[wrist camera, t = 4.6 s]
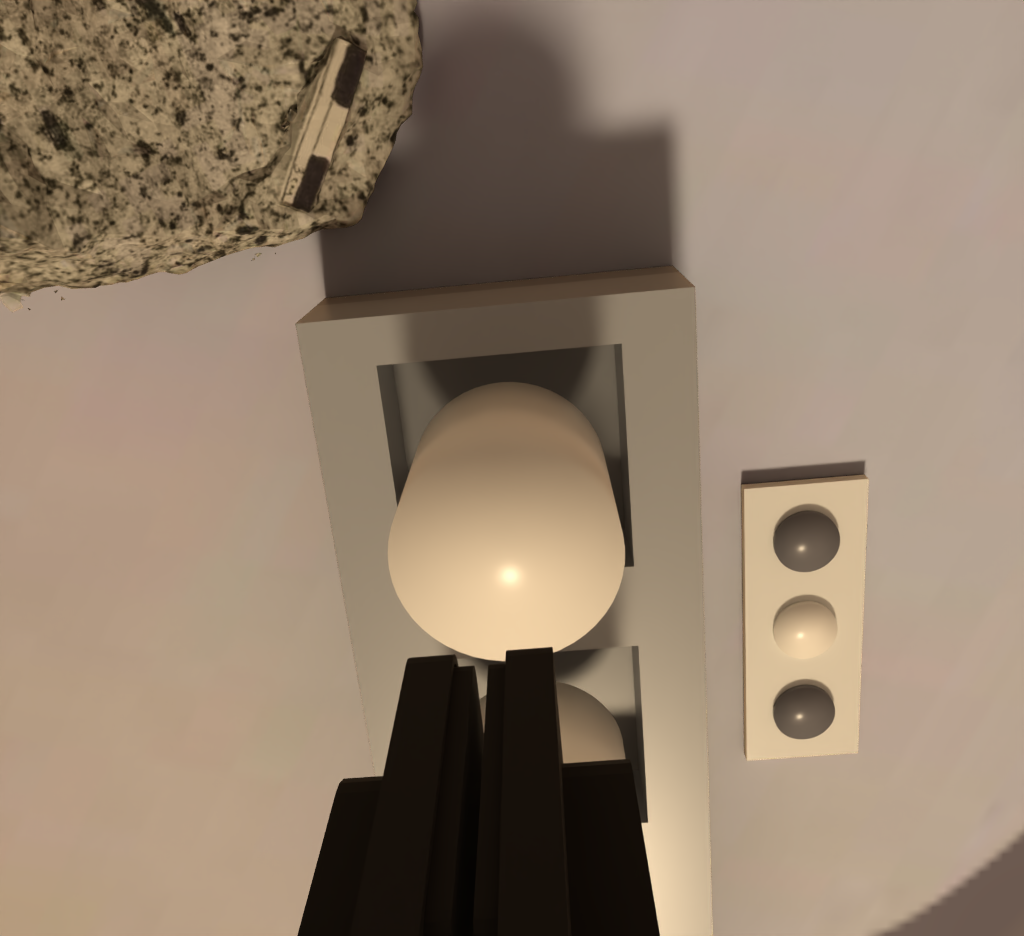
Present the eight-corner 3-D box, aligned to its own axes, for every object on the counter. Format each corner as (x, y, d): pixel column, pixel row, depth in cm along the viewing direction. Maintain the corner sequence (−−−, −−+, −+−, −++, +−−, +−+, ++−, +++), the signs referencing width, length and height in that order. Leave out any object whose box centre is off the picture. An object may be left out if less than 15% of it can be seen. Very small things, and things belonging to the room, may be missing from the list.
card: (741, 484, 23) (745, 491, 23) (864, 474, 23) (871, 481, 22) (744, 753, 26) (748, 764, 25) (854, 745, 26) (860, 757, 25)
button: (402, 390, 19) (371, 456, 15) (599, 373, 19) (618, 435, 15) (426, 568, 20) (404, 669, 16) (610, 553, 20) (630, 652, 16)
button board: (325, 298, 22) (295, 324, 19) (672, 265, 21) (695, 286, 18) (436, 977, 29) (426, 1069, 26) (696, 961, 28) (716, 1053, 26)
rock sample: (463, 361, 18) (-30, 200, 12) (248, 377, 23) (-174, 271, 17) (525, -134, 19) (102, -534, 13) (306, -13, 24) (-73, -253, 18)
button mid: (443, 686, 21) (425, 806, 17) (618, 673, 21) (639, 792, 17) (463, 827, 23) (450, 966, 19) (627, 816, 22) (648, 955, 19)
